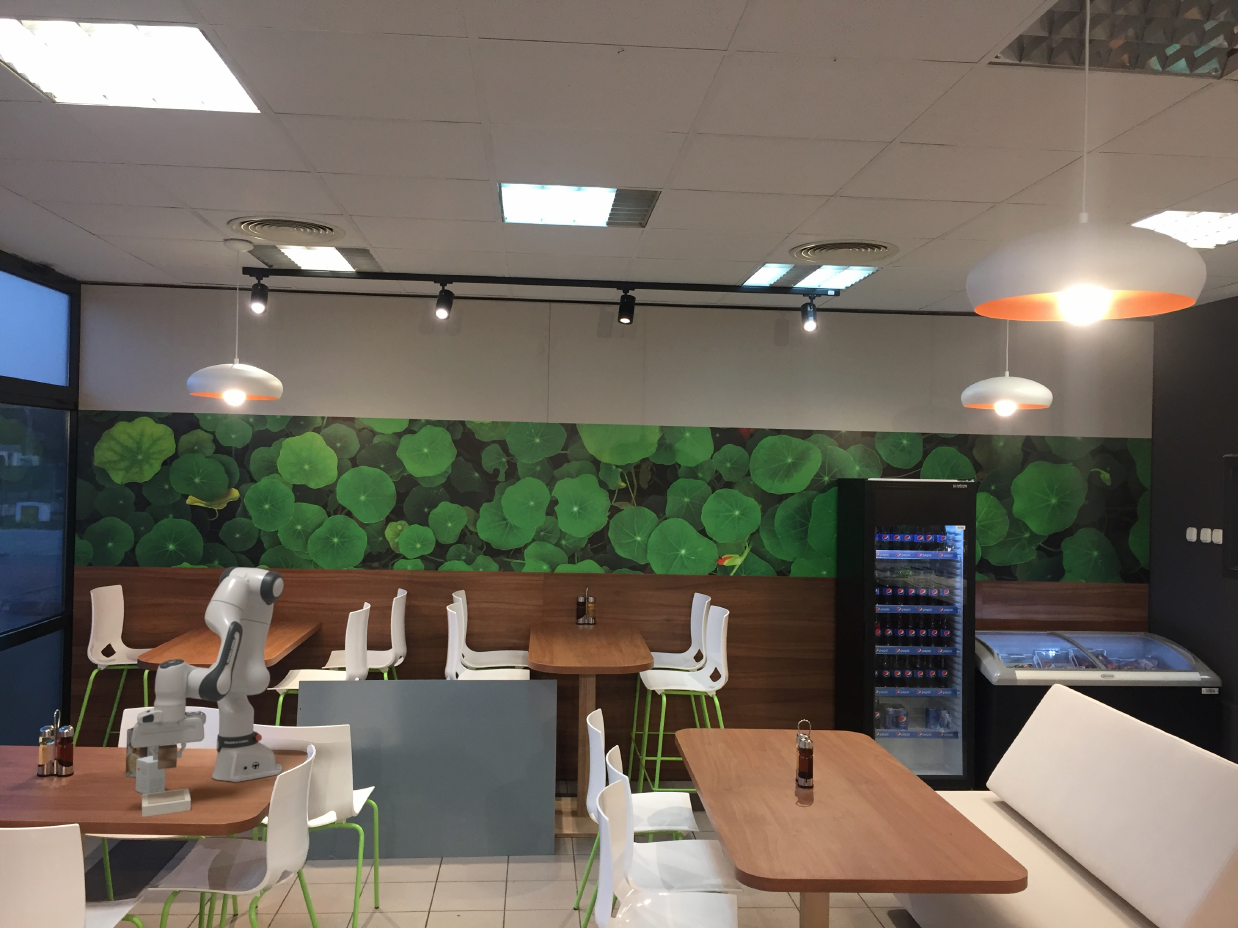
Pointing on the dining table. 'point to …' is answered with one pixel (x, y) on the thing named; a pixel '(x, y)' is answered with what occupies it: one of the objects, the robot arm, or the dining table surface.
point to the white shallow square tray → (165, 802)
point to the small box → (149, 776)
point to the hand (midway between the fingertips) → (167, 758)
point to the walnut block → (167, 756)
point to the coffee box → (135, 754)
